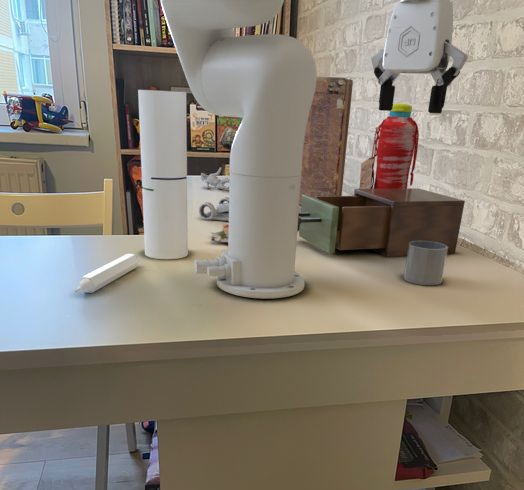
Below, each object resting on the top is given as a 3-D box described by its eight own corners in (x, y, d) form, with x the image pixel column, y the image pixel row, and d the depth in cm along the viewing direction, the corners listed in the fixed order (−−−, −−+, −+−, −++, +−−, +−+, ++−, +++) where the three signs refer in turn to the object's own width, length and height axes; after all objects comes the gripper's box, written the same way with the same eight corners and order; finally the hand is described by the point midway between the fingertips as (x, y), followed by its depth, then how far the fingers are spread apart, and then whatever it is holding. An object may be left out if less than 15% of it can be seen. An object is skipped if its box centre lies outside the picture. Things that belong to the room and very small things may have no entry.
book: (341, 203, 149) (354, 79, 137) (335, 209, 141) (348, 77, 129) (251, 195, 156) (256, 75, 144) (241, 200, 148) (244, 74, 136)
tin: (417, 286, 83) (423, 250, 81) (396, 275, 88) (401, 241, 86) (449, 284, 85) (455, 248, 83) (427, 273, 90) (433, 239, 88)
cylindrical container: (179, 260, 91) (176, 91, 80) (138, 256, 92) (130, 89, 81) (193, 250, 97) (192, 92, 87) (154, 246, 98) (149, 90, 88)
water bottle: (347, 226, 123) (360, 101, 112) (356, 220, 129) (369, 102, 119) (402, 232, 118) (421, 104, 108) (409, 226, 125) (427, 104, 115)
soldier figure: (222, 195, 159) (190, 177, 163) (226, 205, 164) (195, 187, 168) (238, 175, 161) (206, 158, 164) (241, 185, 165) (210, 168, 169)
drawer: (300, 254, 94) (303, 207, 91) (273, 236, 106) (275, 194, 102) (396, 250, 100) (403, 206, 97) (361, 233, 111) (365, 193, 108)
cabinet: (386, 256, 99) (394, 201, 95) (348, 238, 112) (354, 188, 108) (455, 253, 104) (465, 200, 100) (411, 235, 116) (418, 188, 112)
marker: (75, 304, 72) (130, 270, 86) (87, 298, 71) (141, 265, 85) (64, 286, 71) (121, 255, 86) (76, 280, 71) (132, 249, 85)
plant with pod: (266, 248, 101) (272, 129, 93) (205, 243, 102) (205, 126, 94) (271, 238, 108) (277, 127, 100) (214, 234, 109) (215, 124, 101)
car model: (219, 211, 132) (219, 189, 130) (316, 224, 123) (318, 201, 121) (194, 218, 122) (194, 195, 120) (297, 233, 113) (299, 208, 111)
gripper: (366, -6, 90) (354, 109, 97) (465, -18, 79) (443, 113, 86) (393, 1, 95) (379, 110, 102) (489, -9, 84) (467, 114, 91)
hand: (409, 111), depth 94 cm, fingers open, 9 cm apart
